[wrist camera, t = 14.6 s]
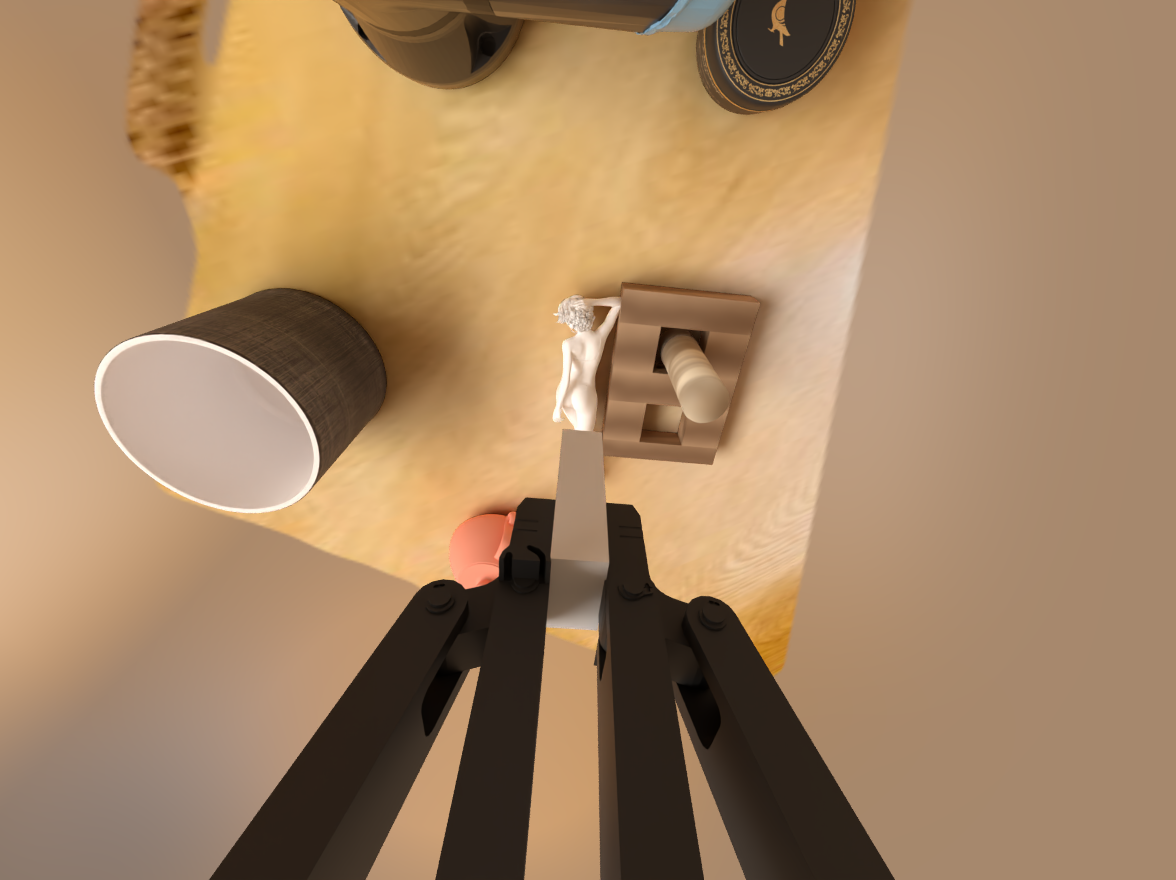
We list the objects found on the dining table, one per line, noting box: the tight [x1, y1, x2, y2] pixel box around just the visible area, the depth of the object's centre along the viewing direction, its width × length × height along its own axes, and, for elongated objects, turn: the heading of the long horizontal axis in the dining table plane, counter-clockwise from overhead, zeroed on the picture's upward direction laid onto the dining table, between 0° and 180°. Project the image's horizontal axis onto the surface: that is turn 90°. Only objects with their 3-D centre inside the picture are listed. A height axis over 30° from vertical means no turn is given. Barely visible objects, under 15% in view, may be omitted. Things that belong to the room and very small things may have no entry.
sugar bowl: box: [449, 512, 516, 589], centre depth 61 cm, size 12×14×10 cm
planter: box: [94, 288, 386, 513], centre depth 45 cm, size 18×18×16 cm
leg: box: [658, 328, 729, 423], centre depth 44 cm, size 4×4×15 cm
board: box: [602, 282, 760, 465], centre depth 51 cm, size 20×14×3 cm
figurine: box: [553, 295, 621, 431], centre depth 52 cm, size 8×6×25 cm
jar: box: [696, 0, 856, 115], centre depth 34 cm, size 10×10×8 cm
